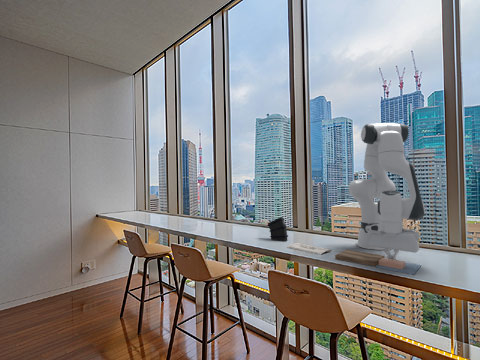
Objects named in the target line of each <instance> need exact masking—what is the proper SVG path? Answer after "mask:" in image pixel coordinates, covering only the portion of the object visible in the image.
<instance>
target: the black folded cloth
mask: <svg viewBox="0 0 480 360" xmlns="http://www.w3.org/2000/svg"><path fill="white" fill-rule="evenodd" d="M267 227H268V228H269V233H270V236H269V237H270V239H271V240H272V241H279V242H287V241H288V237H289V234H288V230H287V225H286V223H285V218H284V217H283V216H280V217H278V218H276V219H274V220H272V221H269V222H267Z"/></svg>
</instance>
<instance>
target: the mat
mask: <svg viewBox="0 0 480 360" xmlns="http://www.w3.org/2000/svg"><path fill="white" fill-rule="evenodd" d="M421 267H422V264H419V263H417V264H416V263H411V262H410V263H409V262H406V266H405V267H404V268H403V269H397V268H392V267H387V266H382V265H379V264H378V265H377V266H375V268H377V269H383V270H388V271H392V272H397V273H403V274H407V275H413V276H414V274H416V272H418V270H419V269H420V268H421Z"/></svg>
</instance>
